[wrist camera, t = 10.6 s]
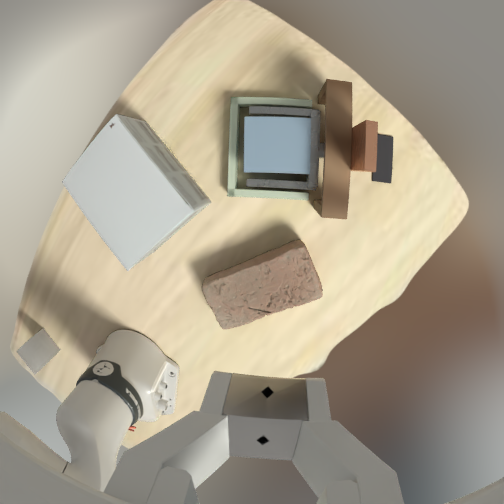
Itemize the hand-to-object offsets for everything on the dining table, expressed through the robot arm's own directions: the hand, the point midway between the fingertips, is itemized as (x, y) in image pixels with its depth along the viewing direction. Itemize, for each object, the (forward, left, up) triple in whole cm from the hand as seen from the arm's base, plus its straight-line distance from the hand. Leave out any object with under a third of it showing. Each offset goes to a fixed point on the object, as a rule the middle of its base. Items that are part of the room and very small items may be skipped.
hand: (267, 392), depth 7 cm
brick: (-11, +2, -36) cm, 37 cm away
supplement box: (+3, +20, -36) cm, 41 cm away
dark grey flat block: (+9, -15, -35) cm, 39 cm away
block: (+9, +1, -35) cm, 36 cm away
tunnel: (+9, -6, -35) cm, 37 cm away
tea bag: (-32, +52, -35) cm, 71 cm away
